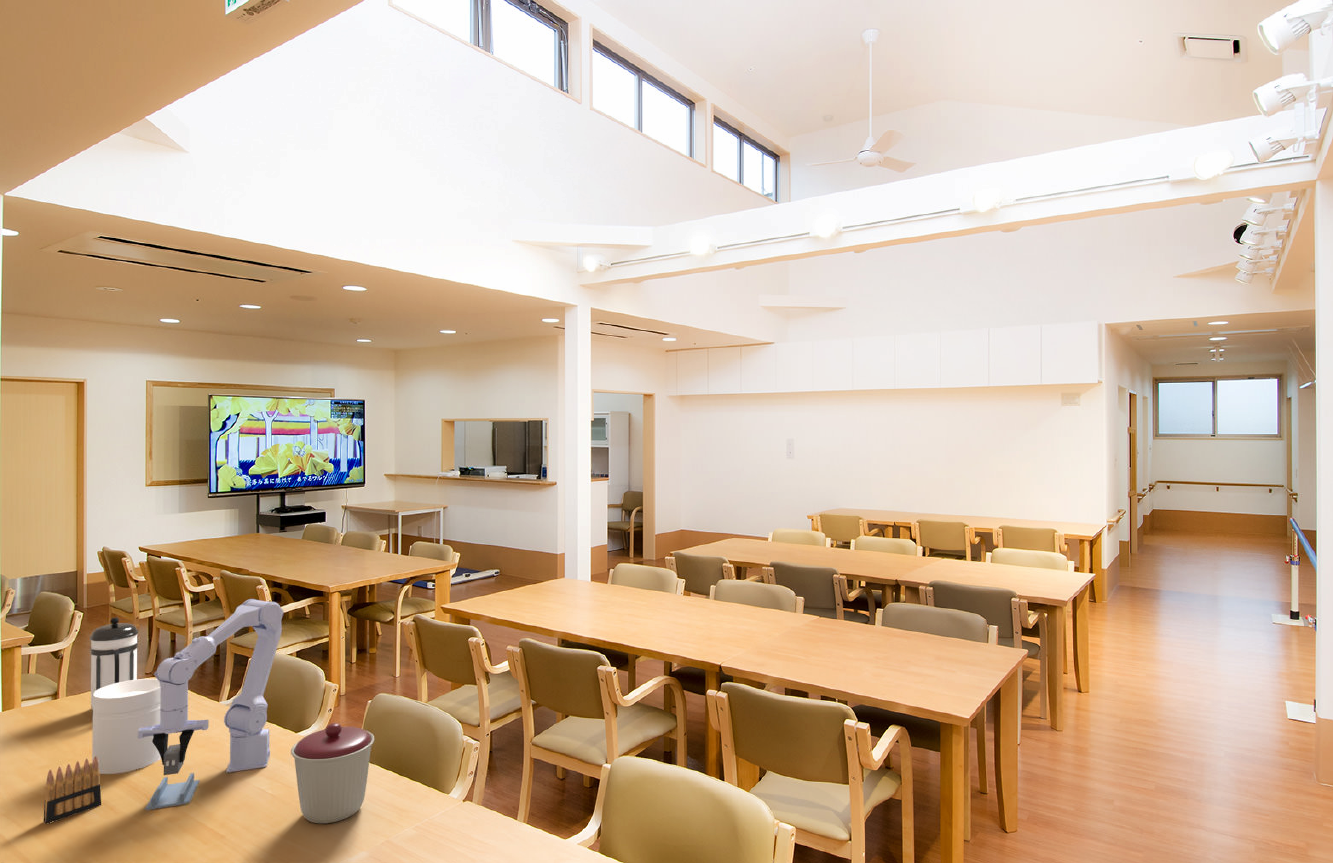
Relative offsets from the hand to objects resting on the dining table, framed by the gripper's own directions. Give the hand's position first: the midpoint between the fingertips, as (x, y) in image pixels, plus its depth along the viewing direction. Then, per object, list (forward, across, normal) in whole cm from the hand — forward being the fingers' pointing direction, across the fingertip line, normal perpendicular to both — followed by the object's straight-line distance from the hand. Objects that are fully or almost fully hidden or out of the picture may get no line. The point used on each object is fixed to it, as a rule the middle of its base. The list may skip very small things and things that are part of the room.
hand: (173, 762), depth 183 cm
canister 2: (+9, +37, -24) cm, 45 cm away
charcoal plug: (+2, 0, 0) cm, 2 cm away
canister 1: (+9, -16, +28) cm, 33 cm away
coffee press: (+9, -31, +75) cm, 82 cm away
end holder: (+8, 0, 0) cm, 8 cm away
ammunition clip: (+9, -20, -1) cm, 22 cm away
